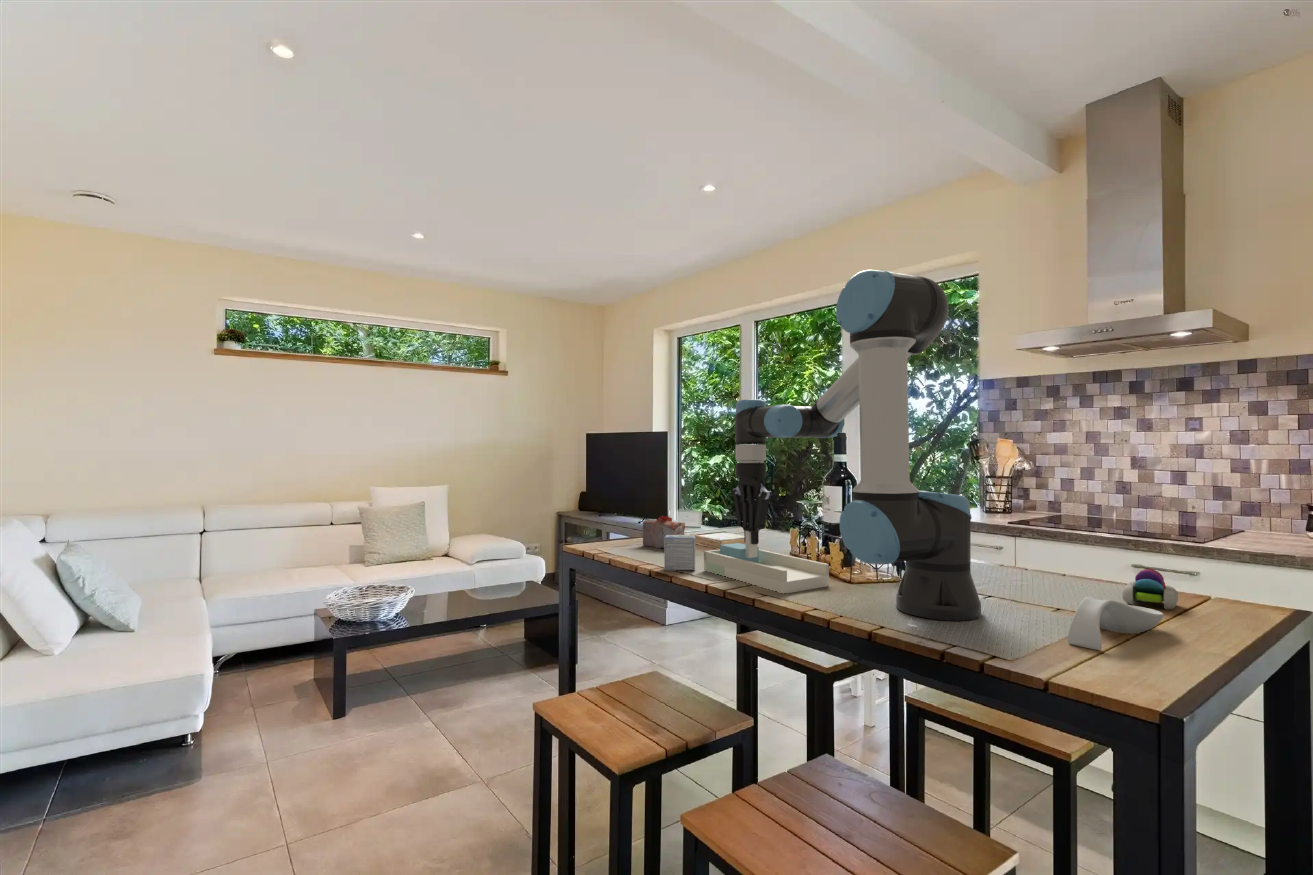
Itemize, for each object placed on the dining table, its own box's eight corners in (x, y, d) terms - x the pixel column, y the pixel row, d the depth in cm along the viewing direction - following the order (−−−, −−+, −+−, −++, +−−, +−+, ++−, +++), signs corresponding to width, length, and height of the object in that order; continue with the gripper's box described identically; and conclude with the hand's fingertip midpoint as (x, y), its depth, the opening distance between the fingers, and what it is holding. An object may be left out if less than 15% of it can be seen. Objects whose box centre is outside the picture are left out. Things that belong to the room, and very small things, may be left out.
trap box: (828, 586, 144) (828, 564, 144) (783, 594, 136) (783, 570, 136) (746, 565, 168) (746, 546, 168) (704, 570, 161) (703, 551, 161)
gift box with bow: (688, 547, 197) (688, 516, 197) (674, 551, 190) (674, 518, 191) (654, 543, 205) (654, 513, 205) (638, 546, 199) (638, 515, 199)
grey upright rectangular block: (695, 568, 165) (695, 534, 165) (694, 571, 160) (694, 537, 161) (665, 567, 166) (665, 534, 166) (664, 570, 161) (664, 537, 161)
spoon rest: (1093, 616, 120) (1093, 578, 120) (1172, 630, 111) (1171, 589, 111) (1044, 641, 105) (1044, 598, 105) (1130, 660, 96) (1129, 612, 96)
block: (758, 563, 158) (758, 547, 158) (740, 565, 155) (740, 549, 155) (738, 558, 165) (738, 542, 165) (720, 560, 162) (720, 545, 162)
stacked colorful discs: (1179, 604, 128) (1178, 568, 128) (1175, 614, 121) (1174, 576, 121) (1127, 597, 134) (1127, 563, 134) (1120, 606, 127) (1120, 570, 127)
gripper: (780, 462, 153) (780, 559, 153) (745, 461, 164) (746, 551, 163) (756, 462, 149) (757, 562, 149) (722, 461, 160) (723, 554, 159)
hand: (751, 557), depth 156 cm, fingers closed
